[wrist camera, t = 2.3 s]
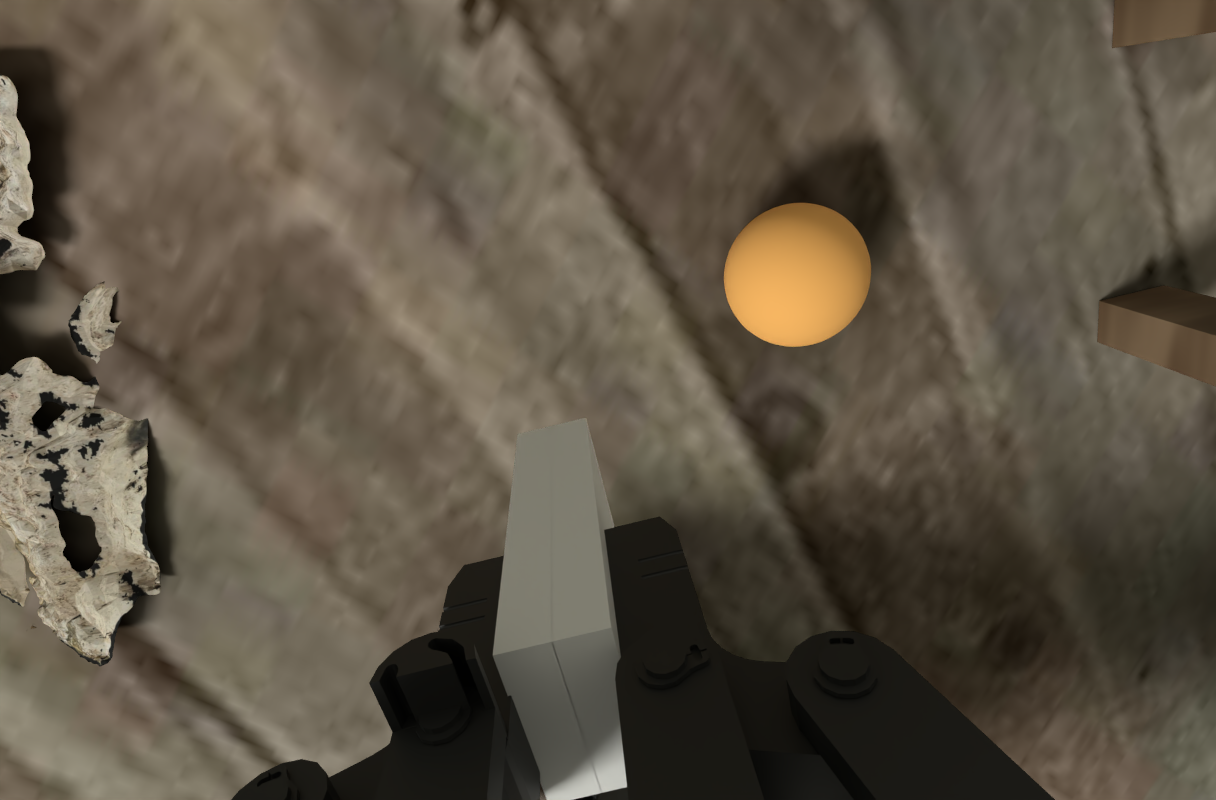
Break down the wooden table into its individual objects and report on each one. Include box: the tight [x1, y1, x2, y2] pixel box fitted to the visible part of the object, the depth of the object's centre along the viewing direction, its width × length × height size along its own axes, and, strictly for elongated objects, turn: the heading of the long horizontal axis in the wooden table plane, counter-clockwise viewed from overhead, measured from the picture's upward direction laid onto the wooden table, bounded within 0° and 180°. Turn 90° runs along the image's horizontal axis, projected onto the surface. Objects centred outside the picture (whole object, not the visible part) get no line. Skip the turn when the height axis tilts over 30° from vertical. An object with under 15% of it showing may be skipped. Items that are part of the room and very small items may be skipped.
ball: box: [724, 203, 871, 347], centre depth 26 cm, size 6×6×6 cm
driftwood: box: [0, 75, 161, 666], centre depth 28 cm, size 25×10×5 cm
